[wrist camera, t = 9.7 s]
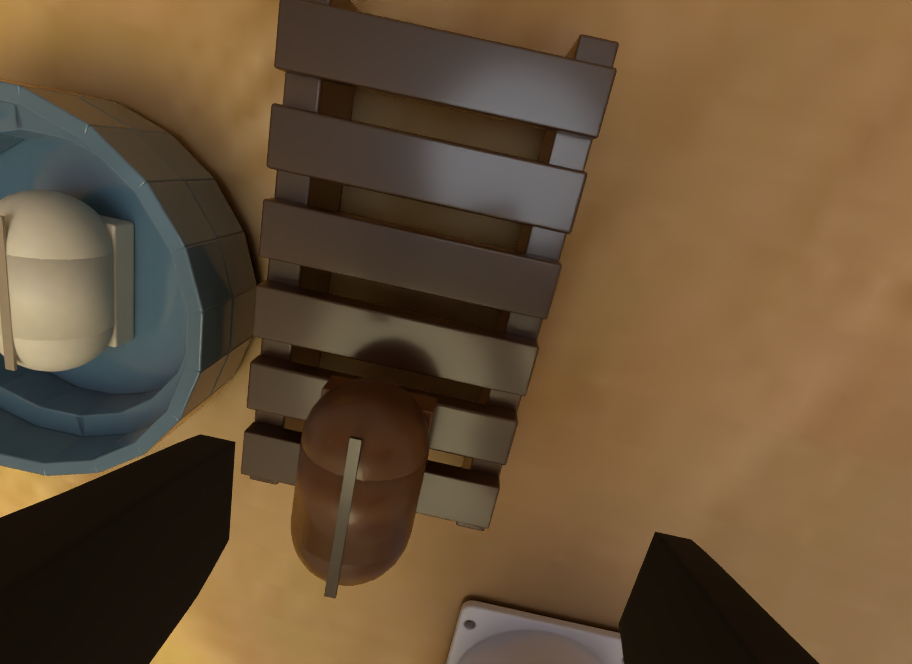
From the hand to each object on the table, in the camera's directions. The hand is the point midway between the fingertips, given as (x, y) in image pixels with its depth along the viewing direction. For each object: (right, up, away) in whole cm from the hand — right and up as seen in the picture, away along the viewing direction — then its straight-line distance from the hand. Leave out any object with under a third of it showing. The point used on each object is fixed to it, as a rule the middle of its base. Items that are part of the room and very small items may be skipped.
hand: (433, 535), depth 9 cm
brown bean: (-2, 0, +7) cm, 7 cm away
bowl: (-13, +6, +10) cm, 17 cm away
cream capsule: (-13, +6, +10) cm, 17 cm away
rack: (-1, +6, +9) cm, 11 cm away
